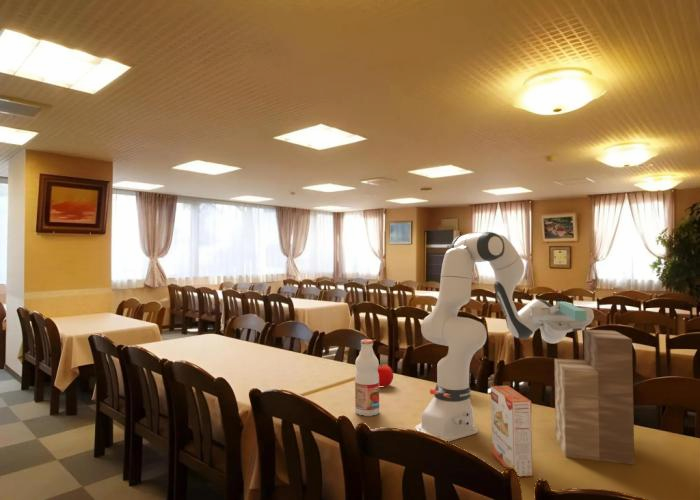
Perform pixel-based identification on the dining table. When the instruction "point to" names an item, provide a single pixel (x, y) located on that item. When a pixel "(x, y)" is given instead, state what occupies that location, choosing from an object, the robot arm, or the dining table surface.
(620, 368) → the step stand
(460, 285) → the robot arm
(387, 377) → the tomato
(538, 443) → the dining table surface
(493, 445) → the cracker box
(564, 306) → the teal bar
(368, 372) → the fruit juice
